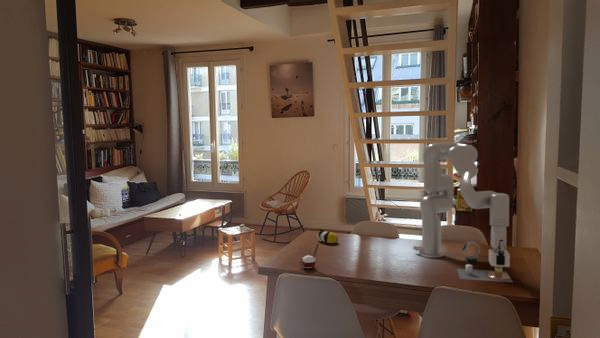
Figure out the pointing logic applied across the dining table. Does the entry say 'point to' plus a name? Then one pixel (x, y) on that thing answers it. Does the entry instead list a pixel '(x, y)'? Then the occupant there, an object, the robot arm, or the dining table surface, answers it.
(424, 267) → the dining table surface
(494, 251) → the square hollow frame
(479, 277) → the board
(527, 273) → the dining table surface
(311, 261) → the cocoa
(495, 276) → the hub
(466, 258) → the watch
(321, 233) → the figurine
